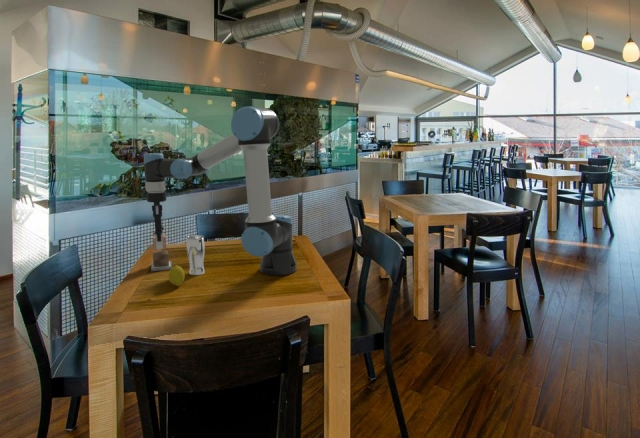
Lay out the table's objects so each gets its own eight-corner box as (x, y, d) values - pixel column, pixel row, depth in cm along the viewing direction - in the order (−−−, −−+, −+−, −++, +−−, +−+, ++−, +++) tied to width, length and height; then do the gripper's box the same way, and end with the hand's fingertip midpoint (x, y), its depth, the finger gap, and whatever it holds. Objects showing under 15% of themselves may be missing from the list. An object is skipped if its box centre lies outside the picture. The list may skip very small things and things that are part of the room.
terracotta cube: (153, 249, 174) (152, 238, 173) (153, 246, 179) (152, 235, 178) (166, 248, 176) (165, 237, 175) (166, 245, 180) (165, 234, 179)
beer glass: (201, 276, 167) (199, 239, 164) (184, 275, 169) (182, 238, 166) (209, 270, 174) (207, 235, 171) (193, 269, 175) (191, 234, 172)
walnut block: (153, 267, 175) (152, 255, 174) (153, 263, 180) (152, 251, 179) (169, 265, 177) (168, 254, 176) (168, 261, 182) (167, 250, 181)
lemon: (186, 283, 159) (185, 263, 158) (182, 288, 154) (181, 267, 152) (172, 283, 159) (170, 263, 158) (167, 288, 154) (165, 267, 152)
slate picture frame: (171, 269, 176) (171, 266, 176) (151, 271, 173) (150, 268, 173) (171, 263, 184) (171, 260, 184) (151, 264, 181) (151, 262, 181)
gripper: (166, 194, 165) (169, 251, 170) (165, 188, 182) (169, 241, 187) (145, 195, 163) (149, 253, 167) (146, 189, 179) (150, 242, 184)
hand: (159, 246), depth 177 cm, fingers closed on terracotta cube, 5 cm apart
